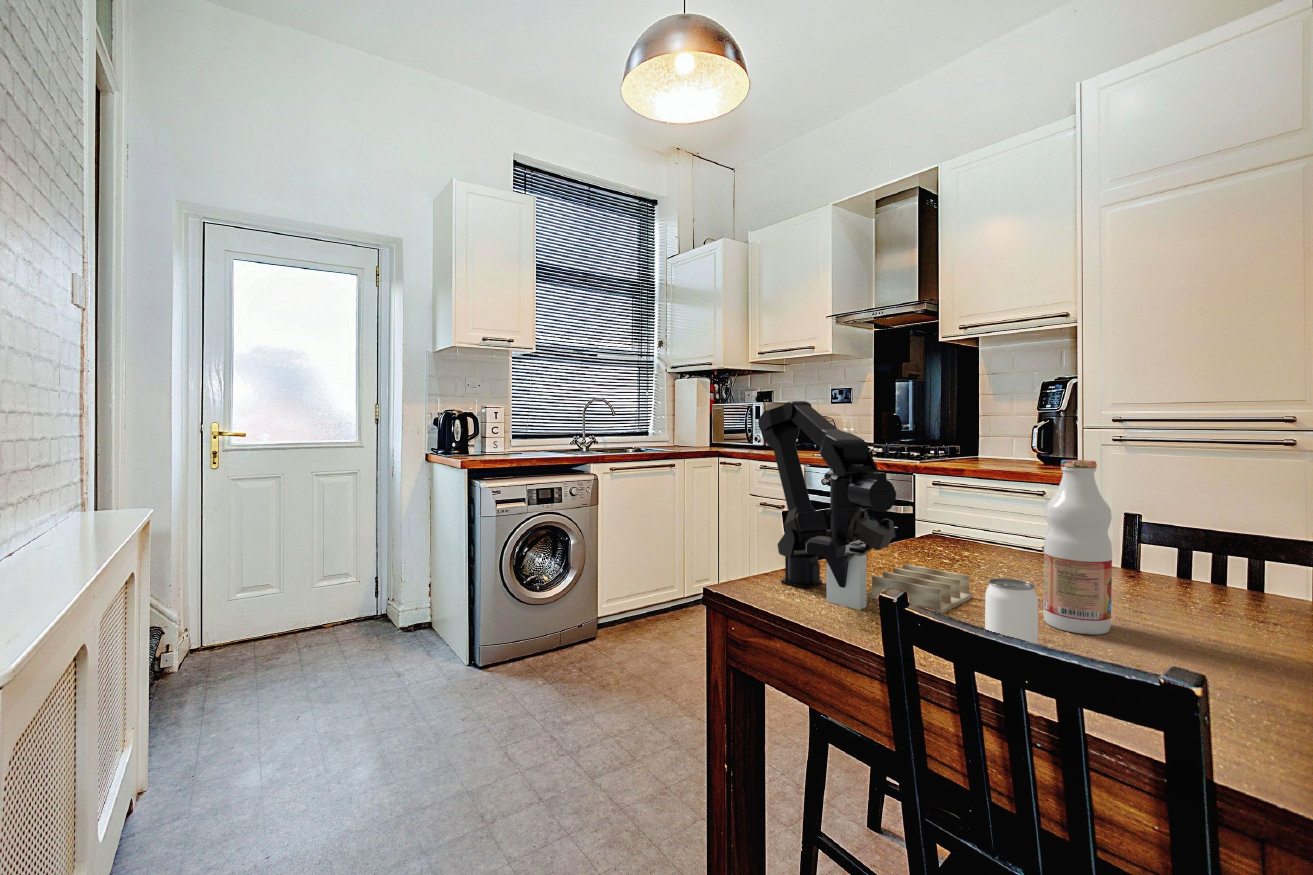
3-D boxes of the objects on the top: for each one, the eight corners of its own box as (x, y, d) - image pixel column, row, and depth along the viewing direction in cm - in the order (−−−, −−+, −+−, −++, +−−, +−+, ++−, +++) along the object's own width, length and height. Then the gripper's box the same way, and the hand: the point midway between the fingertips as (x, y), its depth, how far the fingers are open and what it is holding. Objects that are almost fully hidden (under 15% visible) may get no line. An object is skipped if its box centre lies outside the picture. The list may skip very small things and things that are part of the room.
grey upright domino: (826, 601, 116) (826, 550, 116) (833, 598, 118) (833, 548, 118) (859, 609, 111) (859, 556, 111) (866, 606, 113) (866, 554, 112)
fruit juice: (1030, 617, 106) (1032, 458, 105) (1082, 615, 107) (1084, 458, 105) (1069, 636, 97) (1071, 463, 96) (1125, 635, 97) (1128, 462, 96)
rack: (868, 597, 118) (868, 575, 118) (902, 583, 128) (902, 563, 128) (941, 614, 108) (941, 590, 108) (972, 597, 118) (972, 575, 118)
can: (1045, 678, 82) (1046, 591, 81) (993, 674, 83) (994, 588, 83) (1026, 659, 88) (1027, 578, 88) (978, 656, 89) (979, 576, 89)
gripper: (860, 515, 102) (860, 606, 102) (910, 503, 114) (910, 584, 115) (803, 508, 110) (804, 592, 110) (856, 497, 122) (856, 573, 123)
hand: (846, 585), depth 114 cm, fingers closed on grey upright domino, 2 cm apart
